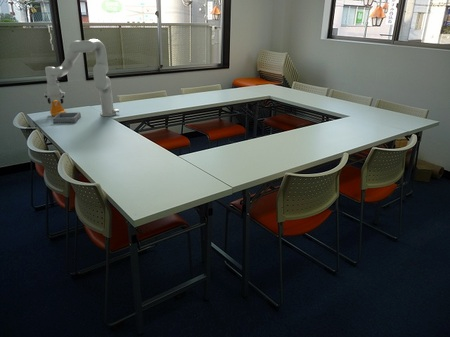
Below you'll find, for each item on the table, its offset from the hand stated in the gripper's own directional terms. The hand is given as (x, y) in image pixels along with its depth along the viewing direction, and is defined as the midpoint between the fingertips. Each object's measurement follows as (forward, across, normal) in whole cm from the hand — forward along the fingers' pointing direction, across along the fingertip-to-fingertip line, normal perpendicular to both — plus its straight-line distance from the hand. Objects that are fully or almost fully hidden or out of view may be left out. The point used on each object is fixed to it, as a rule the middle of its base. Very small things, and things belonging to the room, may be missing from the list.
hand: (55, 103), depth 297 cm
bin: (+9, -13, +17) cm, 23 cm away
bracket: (+10, -1, 0) cm, 10 cm away
